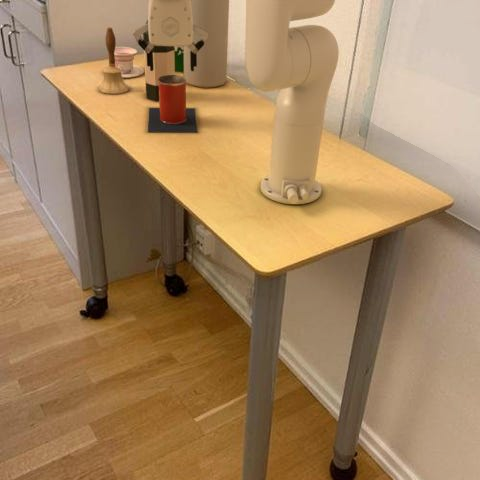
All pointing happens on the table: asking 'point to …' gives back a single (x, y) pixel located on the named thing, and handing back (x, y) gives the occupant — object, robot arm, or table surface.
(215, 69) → the cylinder vase
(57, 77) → the table surface
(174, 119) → the tin can
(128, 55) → the teacup
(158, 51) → the wine bottle
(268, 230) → the table surface
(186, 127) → the placemat
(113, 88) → the hand bell
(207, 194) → the table surface
